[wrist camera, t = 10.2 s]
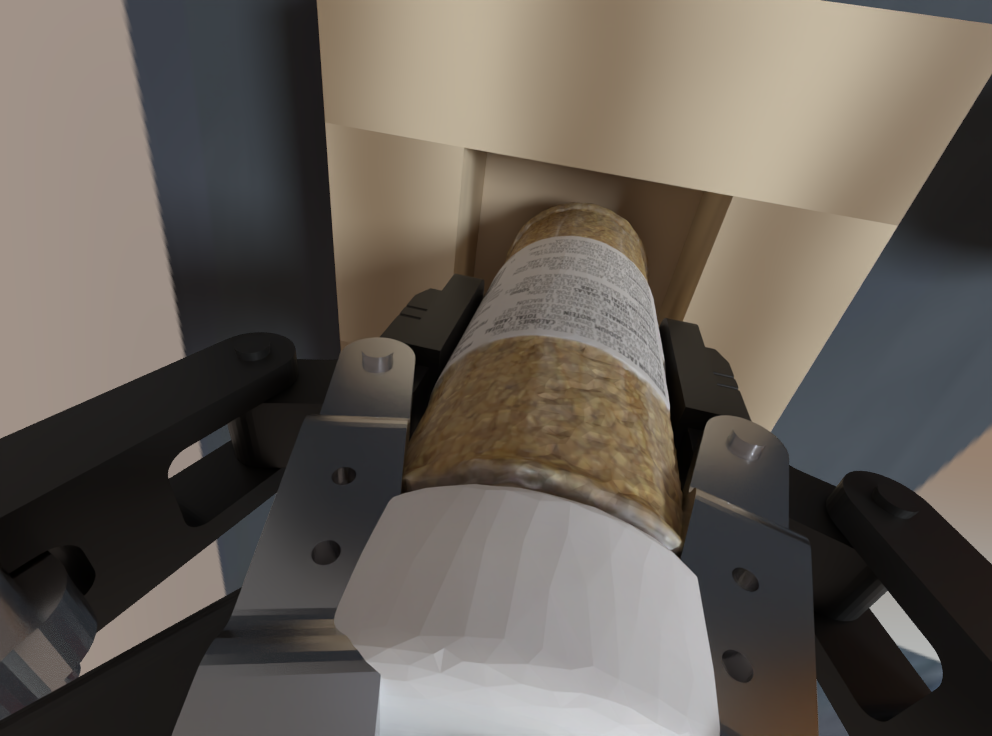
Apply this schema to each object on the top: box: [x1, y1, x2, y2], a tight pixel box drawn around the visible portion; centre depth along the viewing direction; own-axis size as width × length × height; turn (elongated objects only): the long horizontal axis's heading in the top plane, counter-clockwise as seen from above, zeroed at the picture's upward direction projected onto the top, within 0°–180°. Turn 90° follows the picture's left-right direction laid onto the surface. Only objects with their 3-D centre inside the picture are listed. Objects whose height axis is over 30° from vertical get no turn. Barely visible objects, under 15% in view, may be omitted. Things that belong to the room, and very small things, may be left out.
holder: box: [317, 0, 992, 432], centre depth 15 cm, size 14×14×4 cm
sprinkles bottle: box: [334, 202, 729, 736], centre depth 10 cm, size 5×5×14 cm
